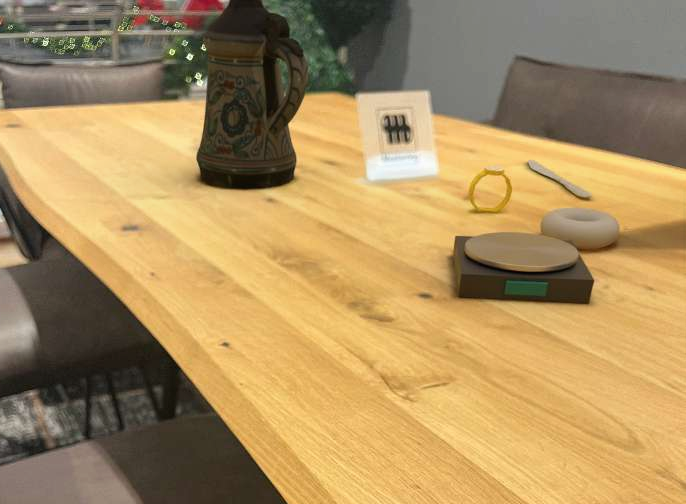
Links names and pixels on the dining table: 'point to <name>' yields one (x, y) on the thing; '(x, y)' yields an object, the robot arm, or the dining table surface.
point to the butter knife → (559, 179)
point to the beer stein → (250, 99)
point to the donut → (581, 227)
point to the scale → (520, 280)
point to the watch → (497, 172)
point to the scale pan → (521, 251)
